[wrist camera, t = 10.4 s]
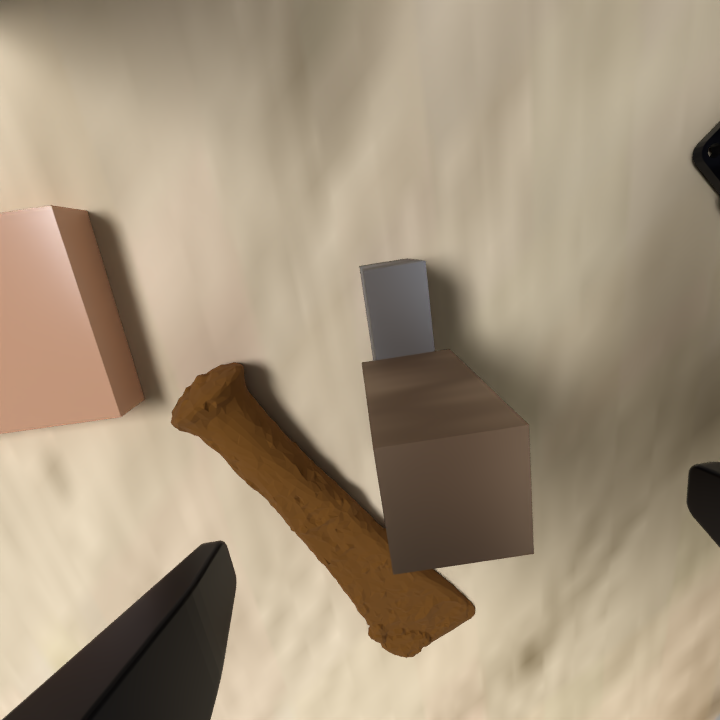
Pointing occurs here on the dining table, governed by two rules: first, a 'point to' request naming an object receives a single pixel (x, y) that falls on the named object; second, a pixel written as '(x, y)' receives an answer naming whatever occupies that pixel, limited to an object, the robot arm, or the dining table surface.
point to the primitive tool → (320, 515)
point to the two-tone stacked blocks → (439, 437)
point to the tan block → (59, 325)
